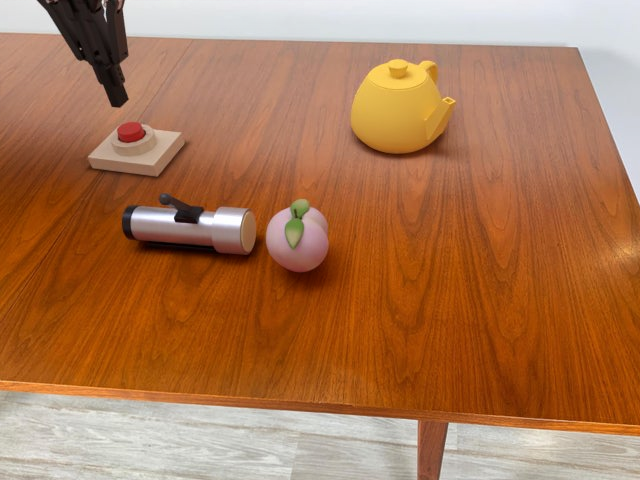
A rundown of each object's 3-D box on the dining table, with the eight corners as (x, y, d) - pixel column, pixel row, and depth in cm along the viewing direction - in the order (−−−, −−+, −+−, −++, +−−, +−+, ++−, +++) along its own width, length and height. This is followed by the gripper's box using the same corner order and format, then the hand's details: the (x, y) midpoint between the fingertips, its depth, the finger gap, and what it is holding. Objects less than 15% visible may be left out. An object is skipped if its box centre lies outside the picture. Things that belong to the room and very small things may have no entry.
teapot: (332, 133, 103) (325, 64, 94) (404, 94, 112) (404, 27, 103) (416, 179, 93) (418, 106, 84) (487, 132, 103) (496, 62, 93)
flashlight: (129, 254, 82) (113, 219, 78) (148, 225, 87) (133, 190, 82) (247, 264, 81) (237, 229, 76) (260, 234, 85) (252, 199, 80)
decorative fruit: (273, 245, 83) (261, 189, 76) (330, 240, 84) (323, 184, 76) (271, 293, 77) (257, 236, 69) (333, 287, 77) (326, 231, 70)
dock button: (115, 142, 96) (111, 133, 95) (128, 129, 99) (124, 120, 97) (137, 145, 95) (134, 135, 94) (149, 132, 98) (146, 123, 97)
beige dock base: (92, 168, 97) (82, 147, 94) (123, 136, 104) (115, 116, 101) (157, 176, 95) (149, 156, 92) (184, 143, 102) (178, 123, 99)
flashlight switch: (180, 214, 79) (155, 203, 72) (181, 202, 79) (157, 190, 72) (191, 215, 79) (167, 204, 72) (192, 203, 79) (169, 191, 72)
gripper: (116, -71, 77) (168, 95, 94) (30, -75, 79) (97, 88, 96) (84, -52, 72) (145, 119, 89) (-7, -57, 74) (70, 111, 91)
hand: (120, 103), depth 92 cm, fingers closed
